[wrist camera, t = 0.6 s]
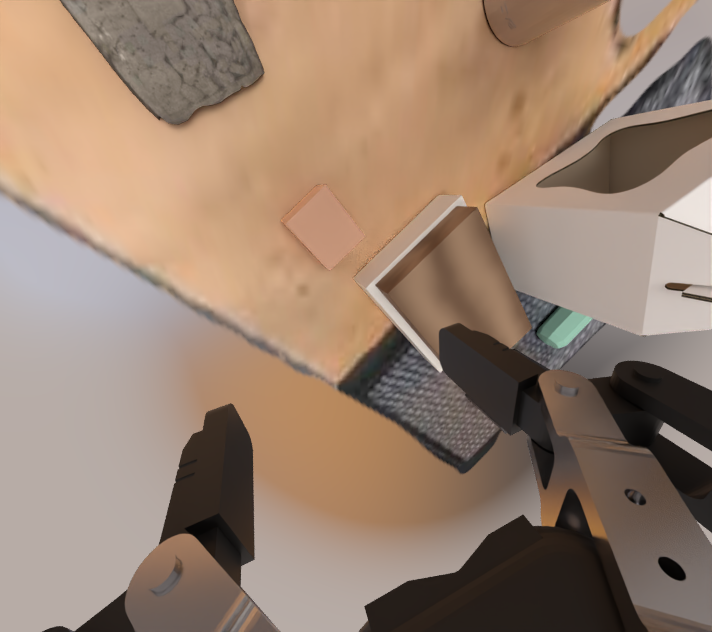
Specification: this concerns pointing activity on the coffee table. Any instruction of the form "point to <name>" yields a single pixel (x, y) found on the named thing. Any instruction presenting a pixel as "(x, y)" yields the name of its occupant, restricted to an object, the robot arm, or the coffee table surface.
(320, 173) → the coffee table surface
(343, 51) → the coffee table surface
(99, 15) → the stone slab
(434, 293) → the plank
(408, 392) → the coffee table surface
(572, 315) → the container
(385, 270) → the riser
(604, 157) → the gable box
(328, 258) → the support block
